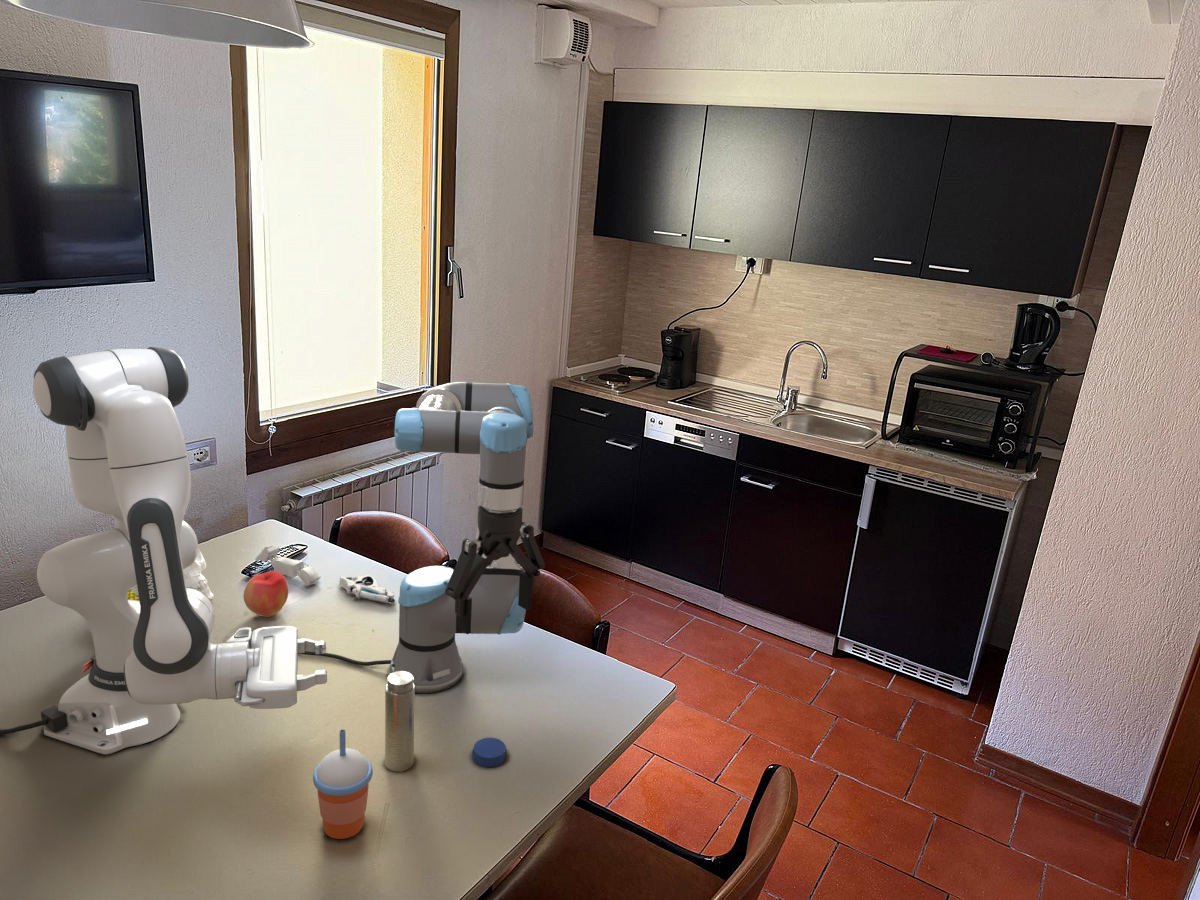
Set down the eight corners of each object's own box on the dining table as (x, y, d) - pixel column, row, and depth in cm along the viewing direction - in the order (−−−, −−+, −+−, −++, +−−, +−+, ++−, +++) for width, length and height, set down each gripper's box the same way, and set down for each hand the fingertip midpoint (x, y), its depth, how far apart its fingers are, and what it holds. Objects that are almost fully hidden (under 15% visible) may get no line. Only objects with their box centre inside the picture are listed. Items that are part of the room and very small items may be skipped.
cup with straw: (356, 851, 133) (355, 754, 128) (303, 839, 135) (300, 742, 130) (382, 812, 142) (382, 719, 137) (331, 801, 143) (330, 709, 138)
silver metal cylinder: (418, 766, 154) (419, 681, 149) (391, 775, 151) (392, 688, 146) (406, 750, 158) (407, 667, 153) (380, 759, 155) (380, 674, 150)
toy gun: (412, 588, 214) (383, 600, 205) (411, 597, 215) (383, 610, 206) (358, 568, 223) (329, 579, 214) (358, 577, 223) (328, 588, 215)
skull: (192, 617, 196) (189, 553, 192) (115, 598, 202) (111, 536, 198) (232, 595, 209) (230, 534, 205) (158, 577, 214) (155, 518, 210)
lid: (501, 744, 162) (501, 735, 161) (509, 764, 156) (509, 754, 156) (469, 749, 160) (469, 740, 159) (476, 770, 154) (477, 760, 154)
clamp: (253, 565, 223) (254, 542, 221) (265, 560, 226) (266, 537, 224) (309, 593, 215) (310, 569, 213) (320, 588, 218) (321, 564, 216)
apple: (273, 600, 207) (272, 562, 204) (297, 613, 202) (296, 575, 199) (237, 614, 200) (234, 575, 197) (261, 628, 194) (259, 588, 191)
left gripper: (231, 688, 129) (327, 678, 134) (241, 622, 148) (325, 615, 152) (233, 723, 131) (328, 713, 136) (242, 654, 150) (325, 647, 154)
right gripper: (540, 485, 155) (534, 591, 161) (425, 514, 137) (423, 632, 144) (569, 497, 150) (561, 606, 156) (453, 529, 132) (450, 650, 139)
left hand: (326, 661), depth 144 cm, fingers open, 8 cm apart
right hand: (495, 618), depth 150 cm, fingers open, 13 cm apart
